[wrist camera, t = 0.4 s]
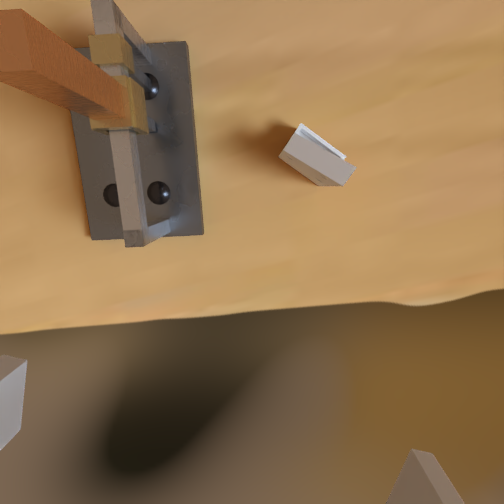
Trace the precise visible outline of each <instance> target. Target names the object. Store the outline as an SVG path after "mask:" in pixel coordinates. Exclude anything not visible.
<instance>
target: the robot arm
mask: <svg viewBox="0 0 504 504" xmlns="http://www.w3.org/2000/svg"><path fill="white" fill-rule="evenodd" d="M26 367H27V360H24V359H20V358H16V357H12V356H7V355H2V356H1V357H0V450H1V449H2V448H3V447H4V446H5V445H6V444H7V443H8V442H9V441H10V440H11V439H12V438H13V437H14V436H15V434H16V433H17V432H18V431H19V430H20V429H21V418H22V408H23V398H24V388H25V377H26ZM386 504H465V503H464V502H463V500H462V498H461V497H460V496H459V494H458V492H457V491H456V489H455V488H454V486H453V485H452V483H451V481H450V480H449V478H448V477H447V475H446V474H445V472H444V471H443V469H442V468H441V466H440V464H439V463H438V461H437V460H436V458H435V457H434V455H433V454H432V453H428V452H424V451H420V450H415V449H411V451H410V453H409V455H408V457H407V459H406V461H405V464H404V466H403V468H402V470H401V472H400V474H399V477H398V479H397V481H396V483H395V485H394V487H393V489H392V492H391V494H390V496H389V498H388V500H387V502H386Z"/></svg>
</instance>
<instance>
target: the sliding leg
mask: <svg viewBox="0 0 504 504" xmlns="http://www.w3.org/2000/svg"><path fill="white" fill-rule="evenodd" d="M0 81H1V82H3V83H5V84H8V85H10V86H13V87H15V88H18V89H20V90H23V91H25V92H27V93H30V94H32V95H35V96H37V97H40V98H42V99H45V100H47V101H49V102H52V103H54V104H57V105H59V106H62V107H64V108H66V109H69V110H71V111H74V112H76V113H79V114H81V115H84V116H86V117H88V118H89V119H90V125H91V129H92V130H93V131H96V132H99V133H102V134H105V135H108V136H110V134H109V130H123V129H132V130H134V131H136V135H148V134H149V132H155V131H156V128H155V120H153V119H152V118H150V117H148V116H147V112H146V103H145V94H144V88H142V87H141V86H140V85H139V84H138V83H137V82H135V81H134V80H133V79H132V78H131V77H127V76H126V75H120V76H110V75H108V74H107V73H106V72H104V71H103V70H102V69H100V68H99V67H98V66H96V65H95V64H94V63H92V62H91V61H90V60H88V59H87V58H86V57H85V56H83V55H82V54H81V53H79V52H78V51H77V50H75V49H74V48H73V47H71V46H70V45H69V44H67V43H66V42H65V41H63V40H62V39H61V38H59V37H58V36H57V35H55V34H54V33H53V32H51V31H50V30H49V29H47V28H46V27H45V26H44V25H42V24H41V23H40V22H38V21H37V20H36V19H34V18H33V17H32V16H30V15H29V14H28V13H26V12H25V11H24V10H22V9H11V10H0Z"/></svg>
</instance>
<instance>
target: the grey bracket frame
mask: <svg viewBox="0 0 504 504" xmlns="http://www.w3.org/2000/svg"><path fill="white" fill-rule="evenodd" d="M91 7H92V14H93V21H94V28H95V35H88V39H89V46H90V53H91V60H92V63H94V64H95V65H96V66H98V67H99V68H100V69H102V70H103V71H104V72H106V73H107V74H108V75H110V76H120V75H126V76H127V77H131V78H132V79H133V80H134V81H135V82H137V83H138V84H139V85H140V86H141V87H142V88H144V92H152V84H151V80H150V79H149V78H148V77H147V76H146V75H145V74H144V73H143V72H142V71H141V70H140V69H139V68H138V67H137V66H146V65H152V60H151V51H150V48H149V47H148V45H147V44H146V43H145V41H144V40H143V39H142V38H141V36H140V35H139V34H138V32H137V31H136V30H135V28H134V27H133V26H132V25H131V23H130V22H129V21H128V19H127V18H126V17H125V15H124V14H123V13H122V12H121V10H120V9H119V8H118V6H117V5H116V4H115V3H114V1H113V0H91ZM109 134H110V141H111V148H112V155H113V162H114V169H115V176H116V183H117V191H118V198H119V205H120V212H121V219H122V226H123V233H124V240H125V247H144V246H145V245H147V244H149V243H151V242H153V241H155V240H157V239H159V238H160V237H162V236H164V235H166V234H168V233H170V225H169V219H164V220H153V221H150V222H147V218H146V210H145V202H144V194H143V185H142V177H141V169H140V161H139V153H138V145H137V137H136V131H134V130H132V129H123V130H109Z"/></svg>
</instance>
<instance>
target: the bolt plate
mask: <svg viewBox="0 0 504 504" xmlns="http://www.w3.org/2000/svg"><path fill="white" fill-rule="evenodd" d="M147 45H148V47H149V48H150V51H151V60H152V65H146V66H137V67H138V68H139V69H140V70H141V71H142V72H143V73H144V74H145V75H146V76H147V77H148V78H149V79H150V80H151V84H152V92H144V94H145V103H146V112H147V116H148V117H150V118H152V119H153V120H155V128H156V131H155V132H149V134H148V135H136V137H137V145H138V153H139V161H140V169H141V177H142V185H143V194H144V202H145V210H146V218H147V222H150V221H153V220H164V219H169V225H170V233H168V234H166V235H164V236H162V237H170V236H190V235H203V234H204V225H203V214H202V202H201V190H200V179H199V167H198V155H197V144H196V132H195V120H194V109H193V97H192V85H191V73H190V62H189V50H188V45H187V43H186V41H181V42H165V43H150V44H147ZM74 49H75V50H77V51H78V52H79V53H81V54H82V55H83V56H85V57H86V58H87V59H88V60H90V61H91V62H92V60H91V53H90V47H88V48H74ZM70 111H71V110H70ZM71 118H72V124H73V130H74V136H75V142H76V148H77V154H78V160H79V166H80V172H81V178H82V184H83V190H84V197H85V203H86V209H87V215H88V221H89V227H90V233H91V239H92V240H110V239H124V233H123V226H122V219H121V212H120V205H119V198H118V191H117V183H116V176H115V169H114V162H113V155H112V148H111V141H110V136H108V135H105V134H102V133H99V132H96V131H93V130H92V129H91V125H90V119H89V118H88V117H86V116H84V115H81V114H79V113H76V112H74V111H71Z"/></svg>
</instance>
